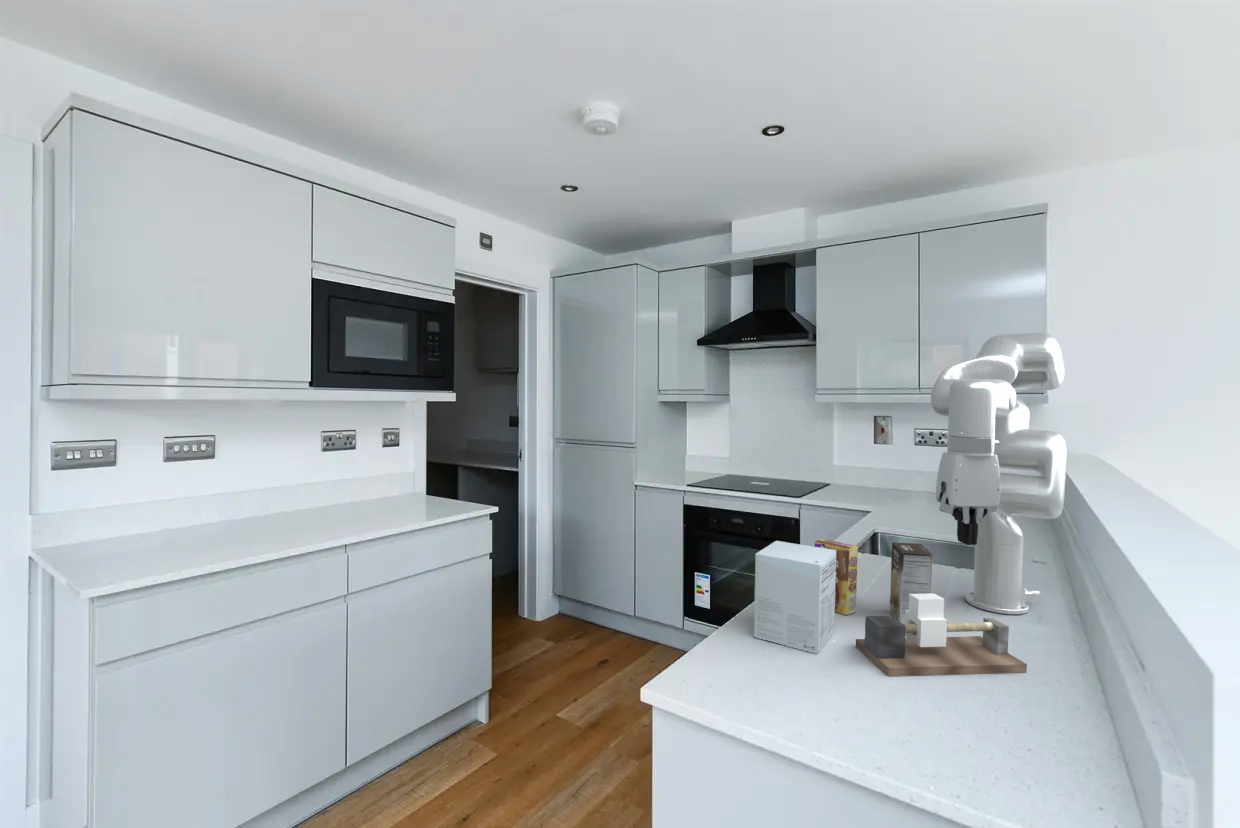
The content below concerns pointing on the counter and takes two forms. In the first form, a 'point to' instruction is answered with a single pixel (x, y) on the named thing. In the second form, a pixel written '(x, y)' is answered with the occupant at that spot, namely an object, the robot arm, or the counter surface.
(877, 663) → the wooden board rod assembly
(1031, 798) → the counter surface
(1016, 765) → the counter surface
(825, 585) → the supplement box
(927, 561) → the coffee box
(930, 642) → the stepped white block
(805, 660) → the counter surface
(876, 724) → the counter surface
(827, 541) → the candy box
